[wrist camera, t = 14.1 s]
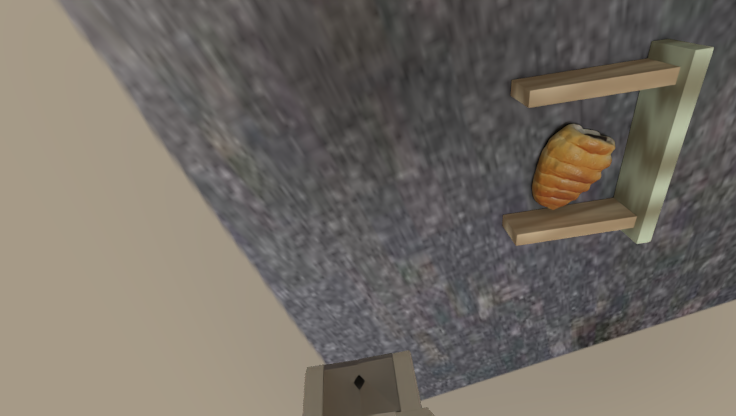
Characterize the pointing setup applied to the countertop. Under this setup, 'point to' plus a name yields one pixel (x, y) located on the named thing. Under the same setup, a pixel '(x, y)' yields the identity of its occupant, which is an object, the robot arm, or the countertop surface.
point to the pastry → (570, 165)
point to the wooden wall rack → (644, 146)
